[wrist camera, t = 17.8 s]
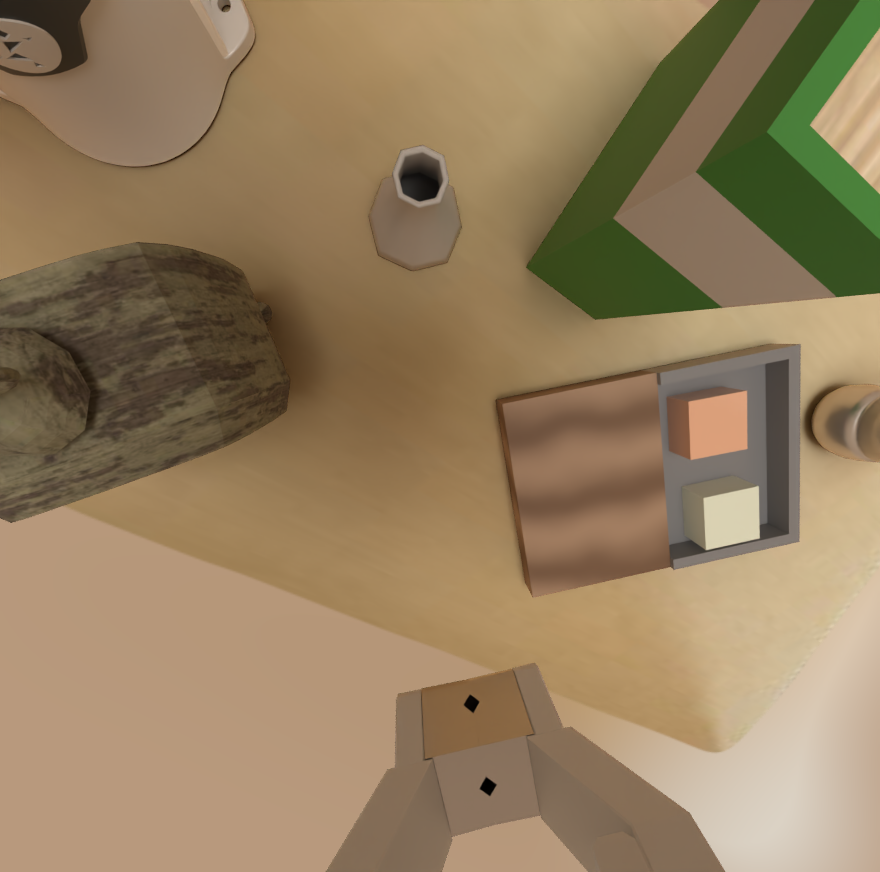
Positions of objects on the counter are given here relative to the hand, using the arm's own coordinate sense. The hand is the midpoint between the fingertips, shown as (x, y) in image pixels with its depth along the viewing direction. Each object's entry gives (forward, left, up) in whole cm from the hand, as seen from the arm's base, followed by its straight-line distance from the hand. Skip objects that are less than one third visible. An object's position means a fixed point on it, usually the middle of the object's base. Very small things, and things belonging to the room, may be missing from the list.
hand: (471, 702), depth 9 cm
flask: (-16, +3, -29) cm, 34 cm away
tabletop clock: (-8, -15, -29) cm, 34 cm away
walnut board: (+8, +13, -29) cm, 33 cm away
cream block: (+13, +25, -28) cm, 40 cm away
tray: (+8, +26, -29) cm, 40 cm away
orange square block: (+4, +24, -28) cm, 38 cm away
